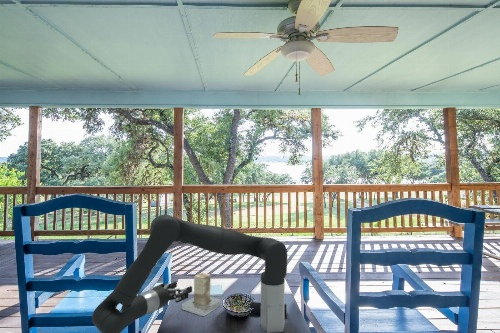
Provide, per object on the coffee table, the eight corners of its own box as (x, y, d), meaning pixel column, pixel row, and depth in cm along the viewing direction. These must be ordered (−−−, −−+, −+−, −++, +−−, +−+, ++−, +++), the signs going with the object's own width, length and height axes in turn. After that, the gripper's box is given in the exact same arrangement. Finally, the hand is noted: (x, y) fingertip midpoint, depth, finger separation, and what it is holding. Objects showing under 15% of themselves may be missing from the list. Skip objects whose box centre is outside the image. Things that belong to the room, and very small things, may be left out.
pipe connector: (252, 293, 130) (286, 294, 128) (252, 304, 130) (286, 306, 128) (249, 305, 118) (286, 307, 117) (249, 317, 118) (286, 320, 117)
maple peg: (202, 311, 123) (203, 278, 123) (193, 308, 125) (194, 275, 126) (210, 306, 127) (210, 274, 128) (201, 303, 130) (201, 272, 130)
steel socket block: (203, 316, 118) (203, 310, 118) (182, 309, 124) (182, 303, 124) (221, 305, 128) (221, 299, 128) (200, 299, 134) (200, 293, 135)
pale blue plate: (223, 295, 139) (223, 293, 139) (198, 297, 137) (198, 295, 137) (221, 286, 151) (221, 284, 151) (198, 287, 149) (198, 285, 149)
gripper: (165, 294, 100) (197, 280, 113) (138, 285, 107) (171, 273, 121) (165, 316, 99) (196, 300, 113) (138, 306, 107) (170, 291, 121)
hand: (183, 286), depth 117 cm, fingers open, 8 cm apart
